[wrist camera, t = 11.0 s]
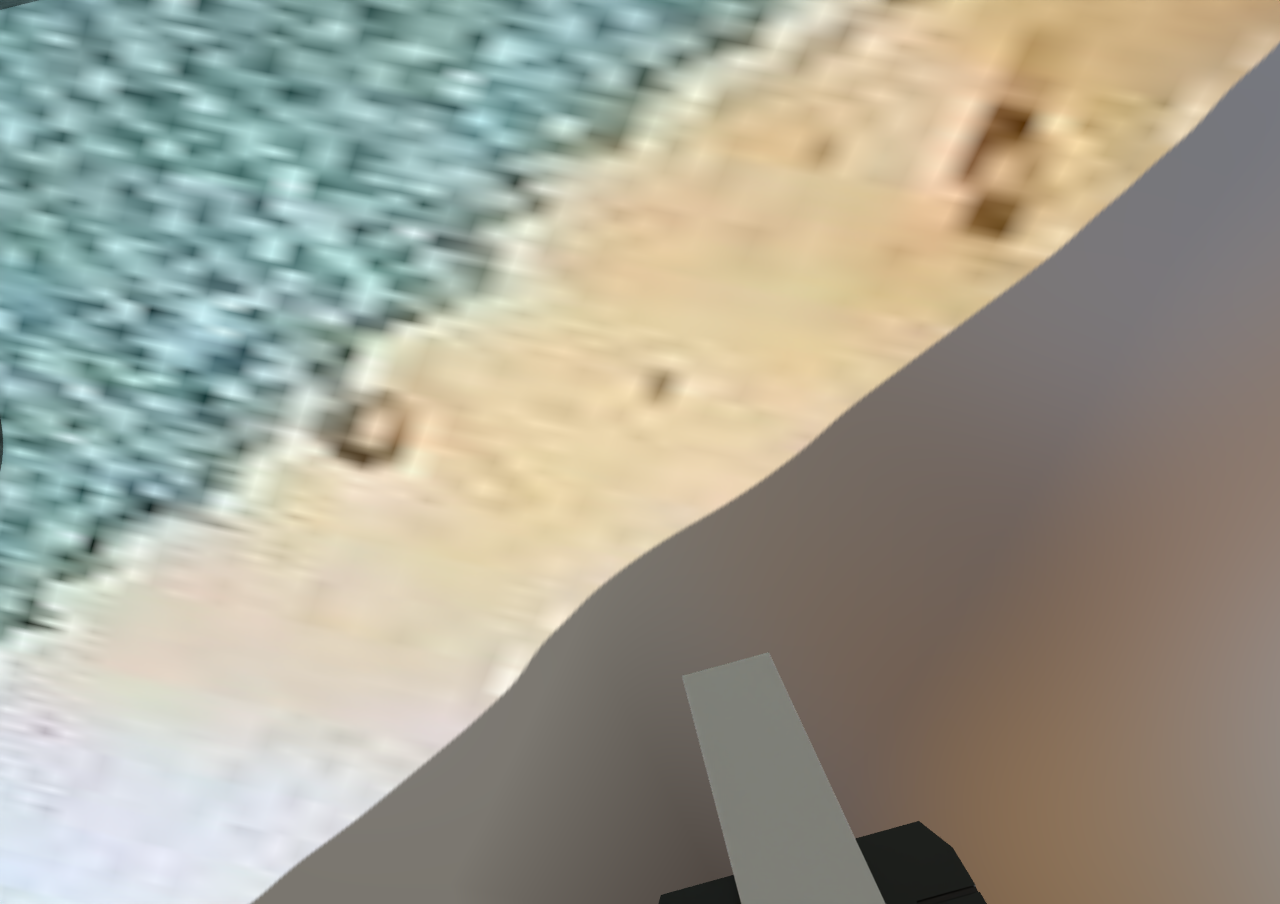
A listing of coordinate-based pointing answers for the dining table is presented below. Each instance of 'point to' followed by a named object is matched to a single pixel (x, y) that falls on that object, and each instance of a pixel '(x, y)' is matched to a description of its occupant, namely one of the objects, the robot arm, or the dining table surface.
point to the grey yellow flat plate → (12, 3)
